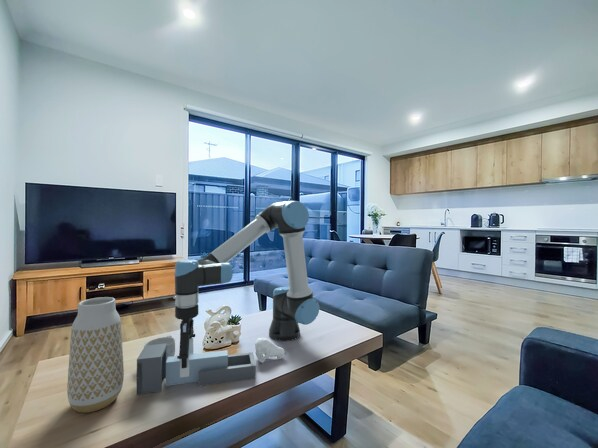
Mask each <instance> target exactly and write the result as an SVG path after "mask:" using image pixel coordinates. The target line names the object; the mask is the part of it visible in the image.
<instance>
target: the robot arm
mask: <svg viewBox="0 0 598 448" xmlns="http://www.w3.org/2000/svg"><path fill="white" fill-rule="evenodd" d="M309 220H310V213H309V210H308V208H307V206H306V205H305V204H304V203H303V202H301V201H298V200H287V201H286V200H284V201H277V202H273V203H271V204H270V205H269V206H267V207H266V208H264V209H263V210H262V211H260V212H259V213H257V215H255V217H254V220H252V221H251V222H249V223H248V224H247V225H246V226H244V227H243V228H241V229H240V230H239V231H238V232H236V233H235V234H233V236H231V237H230V238H228V239H227V240H226V241H225V242H223V243H222V244H220V245H219V246H218V247H216V248H215V249H214V250H213V251H211V252H210V253H208V254H207V255H205V256H204V257H201V258H198V259H181V260H178V261H177V262H175V264H174V265H175V266H174V296H172V298H173V299H174V300H175V301H174V302H175V303H174V305H175V307H174V317H175V319H178V320H181V321H180V323H179V328H180V332H179V354H178V355H176V356H177V359H180V378H181V377H188V376H189V354H194V338H196V333H195V330H194V320H195V319H194V318H196V317H197V316H199V302H200V301H199V300H200V299H199V298H200V297H199V287H205V286H213V285H219V284H220V285H222V284H226V283H230V282H231V281H232V278H233V276H234V275H233V274H234V273H233V266H232V265H231V264H230V263H229V262H230V261H231V260H232V259H234V258H236V256H238V255H239V254H241V252H242V251H244V250H245V249H246V248H247V247H249V246H250V245H252V244H253V243H254V242H255V241H256V240H258V239H259V238H260V237H262V236H263V235H264V234H268V233H270V232H271V231H273V230H275V229H277V230H278V234H279V236H281V237H282V239H283V249H284V255H285V256H284V257H285V265H286V271H287V272H286V273H287V279H288V280H287V281H288V286H280V287H276V288H274V290H273V292H272V320H271V323H270V326H269V329H268V336H269V338H271V339H272V340H275V341H280V342H281V341H282V342H283V341H284V342H286V341H287V340H289V341H293V340H292V339H294V340H296V339H298V338H299V337H300V336H301V329H300V326H299V324H301V325H303V326H305V325H309V324H312V323H313V322H314V321H315V320H316V319H317V317H318V315H319V313H320V304H319V302H318V300H317V299H315V298H314V294H313V293H314V292H313V289H312V288H310V287H309V280H308V279H309V278H308V272H307V270H308V269H307V264H306V262H307V261H306V253H305V245H304V237H303V235H304V233H305V232H306V226H307V225H308V222H309ZM299 335H300V336H299ZM298 336H299V337H298ZM297 337H298V338H297ZM295 338H296V339H295Z"/></svg>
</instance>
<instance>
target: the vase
mask: <svg viewBox="0 0 598 448" xmlns="http://www.w3.org/2000/svg"><path fill="white" fill-rule="evenodd" d="M122 329H123V328H122V318H121V316H120V314H119V312H118V311H117V309H116V298H114V297H113V296H112V297H111V296H110V297H109V296H104V297H103V296H102V297H101V296H100V297H94V298H89V299H84V300H81V301H80V302H78V304H77V315H76V317H75V318H74V321H73V322H72V324H71V332H70V340H69V343H70V344H69V356H68V357H69V358H68V370H67V371H68V372H67V383H66V385H67V386H66V387H67V390H66V393H67V394H66V395H67V400H68V403H69V405H70V407H71V408H72V409H73V410H74V411H76V412H77V413H84V414H85V413H93V412H96V411H99V410H102V409H104V408H106V407H107V406H109V405H111V404H112V403H113V402H114V401H115V400H116V399H117V397H118V396H119V395H120V393H121V391H122V389H123V385H124V378H125V377H124V376H125V373H124V371H125V368H124V350H123V348H124V347H123V333H122V332H123V331H122Z"/></svg>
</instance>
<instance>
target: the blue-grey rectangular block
mask: <svg viewBox="0 0 598 448" xmlns="http://www.w3.org/2000/svg"><path fill="white" fill-rule="evenodd" d="M228 353H229V352H228V349H225V350H216V351H207V352H199V353H193V354H189V376H188V377H181V378H180V359H177V356H178V355H174V356H171V357H168V358H167V361H166V377H165V386H166V387H168V386H174V385H181V384H188V383H193V382H194V383H195V382H196V383H197V382H199V370H205V369H213V368H221V367H228V355H229V354H228Z"/></svg>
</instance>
